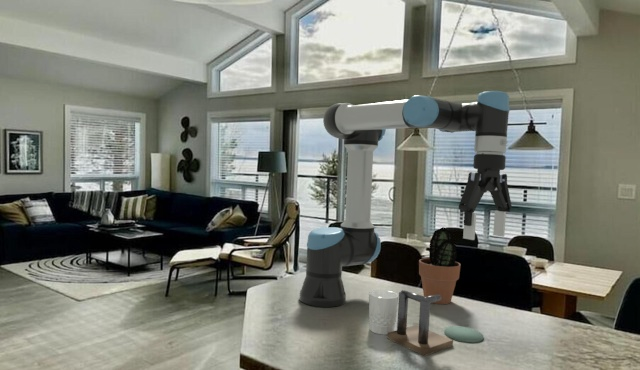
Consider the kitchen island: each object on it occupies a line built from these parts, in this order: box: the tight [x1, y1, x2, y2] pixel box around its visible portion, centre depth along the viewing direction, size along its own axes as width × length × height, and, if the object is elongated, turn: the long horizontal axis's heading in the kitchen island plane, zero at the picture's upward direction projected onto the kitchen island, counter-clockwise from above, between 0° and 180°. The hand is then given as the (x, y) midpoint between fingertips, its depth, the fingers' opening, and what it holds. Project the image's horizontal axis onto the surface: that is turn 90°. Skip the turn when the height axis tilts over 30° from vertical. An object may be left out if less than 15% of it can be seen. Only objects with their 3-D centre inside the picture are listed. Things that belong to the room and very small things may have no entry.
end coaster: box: [443, 325, 484, 344], centre depth 118 cm, size 10×10×1 cm
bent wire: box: [396, 289, 441, 345], centre depth 112 cm, size 9×7×11 cm
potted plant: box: [418, 227, 462, 305], centre depth 149 cm, size 14×14×25 cm
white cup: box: [368, 289, 399, 336], centre depth 119 cm, size 8×8×10 cm
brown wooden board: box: [387, 324, 454, 356], centre depth 112 cm, size 12×11×2 cm
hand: (484, 237), depth 111 cm, fingers open, 13 cm apart
